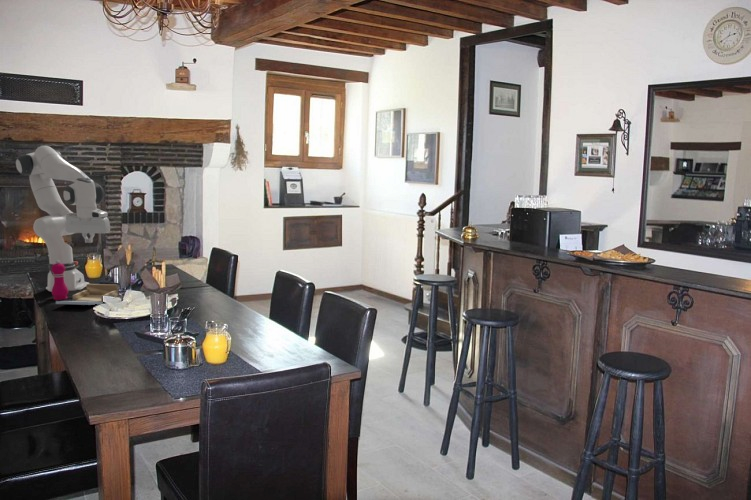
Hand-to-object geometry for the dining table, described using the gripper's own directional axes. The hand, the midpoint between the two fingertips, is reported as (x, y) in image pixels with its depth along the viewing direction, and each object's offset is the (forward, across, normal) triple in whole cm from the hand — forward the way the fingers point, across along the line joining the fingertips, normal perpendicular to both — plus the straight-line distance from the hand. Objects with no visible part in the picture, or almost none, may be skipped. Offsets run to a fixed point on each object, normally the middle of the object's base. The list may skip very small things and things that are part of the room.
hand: (89, 242), depth 308 cm
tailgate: (+28, 0, -5) cm, 28 cm away
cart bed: (+29, 0, +3) cm, 29 cm away
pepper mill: (+29, -18, +2) cm, 34 cm away
